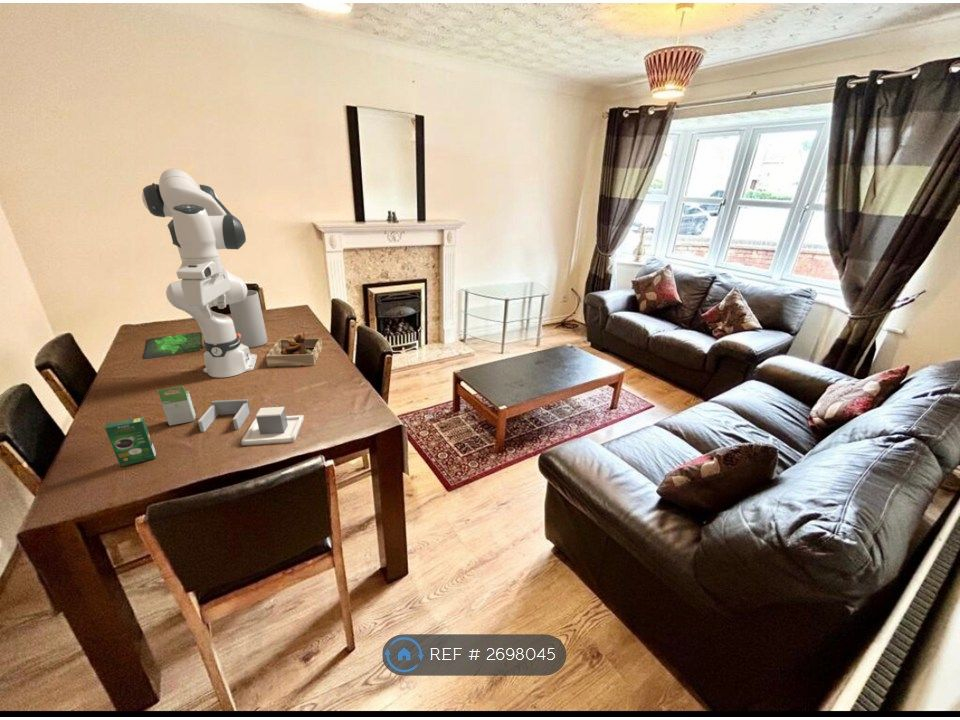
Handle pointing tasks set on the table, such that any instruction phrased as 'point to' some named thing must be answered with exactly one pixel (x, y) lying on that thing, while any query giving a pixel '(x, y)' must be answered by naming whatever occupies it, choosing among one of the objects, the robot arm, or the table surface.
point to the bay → (226, 412)
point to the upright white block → (272, 420)
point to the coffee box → (131, 441)
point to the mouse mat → (172, 345)
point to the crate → (295, 359)
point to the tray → (288, 436)
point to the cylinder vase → (249, 320)
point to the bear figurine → (296, 346)
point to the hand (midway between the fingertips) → (215, 312)
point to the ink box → (177, 405)
